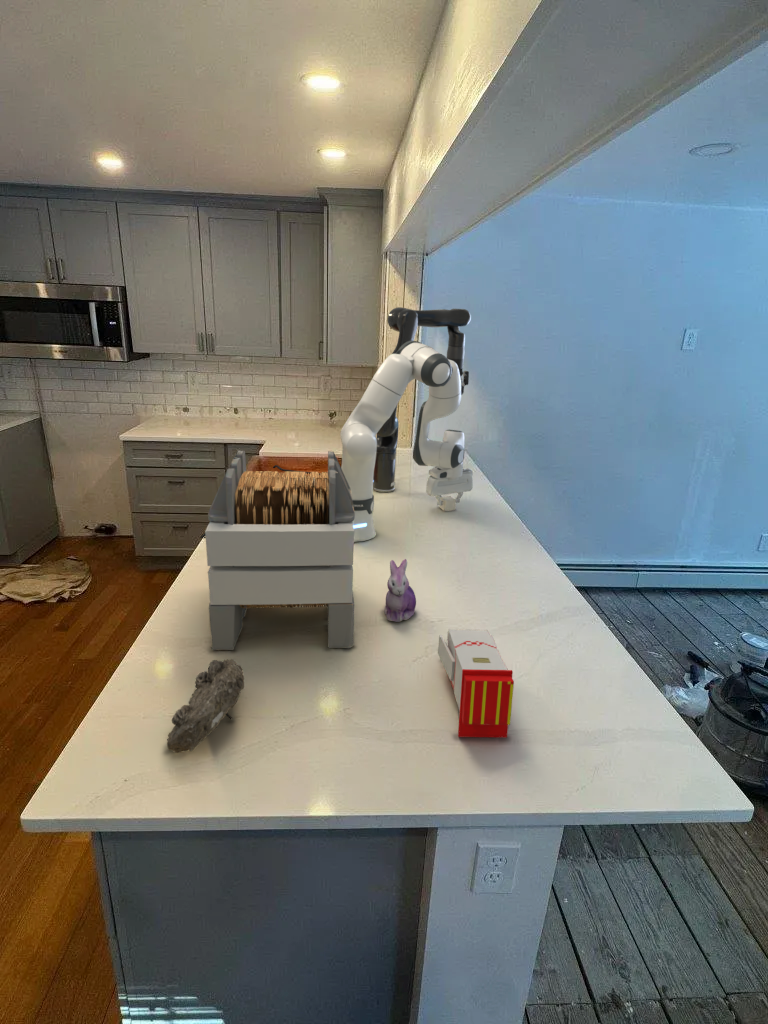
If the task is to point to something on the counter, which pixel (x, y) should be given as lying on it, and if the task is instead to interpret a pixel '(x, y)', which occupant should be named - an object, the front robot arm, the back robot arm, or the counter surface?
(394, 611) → the figurine
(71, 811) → the counter surface
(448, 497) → the brick
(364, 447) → the front robot arm
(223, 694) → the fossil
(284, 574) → the grey record crate stand
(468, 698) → the toy
